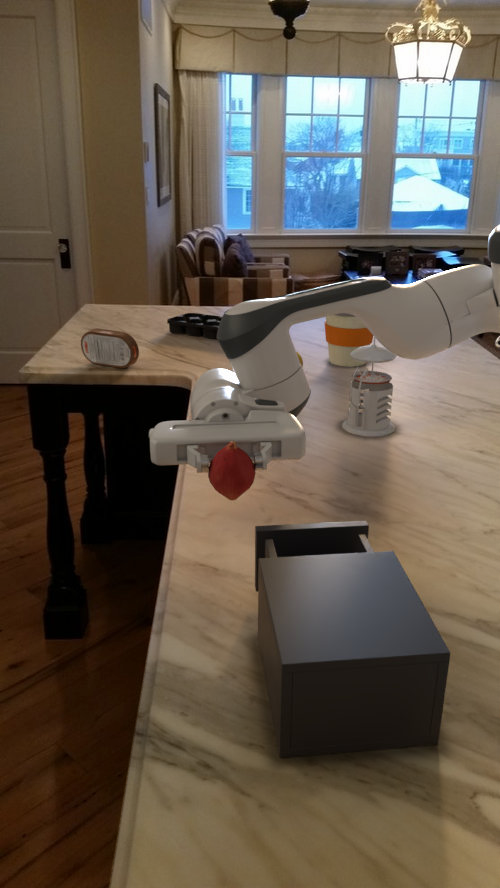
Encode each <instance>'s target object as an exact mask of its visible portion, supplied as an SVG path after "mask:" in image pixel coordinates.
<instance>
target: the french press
mask: <svg viewBox="0 0 500 888" xmlns="http://www.w3.org/2000/svg"><path fill="white" fill-rule="evenodd" d="M350 354H351V357H352V358H353V359H355V360H357V361H361V362H366V364H367V363H368V364H371V370H369V368H365V370H360V366H356V368H355V370H354V372H353V374H351V377H352V378H351V381H350V382H349V390H348V391H349V392H348V393H349V394H348V410H347V418H346V420H344V421H343V422H342V424H341V427H342V429H343V430H344V431H346V432H347V433H349V434H353V435H355V436H361V437H383V436H388V435H390V434H392V433H394V431H395V430H396V427H395V425H394V424H393V423H392V422H391V418H390V417H391V415H392V412H391V411H389V410H392V405H391V404H392V402H393V398H391V397H393V392H394V385H393V383H392V382H391V381H392V379H393V377H392V375H390V374H389V373H387V372H384V371H377V370H374V364H382V363H383V364H384V363H389V362H393V361H394V360H395V359H396V358H397V355H395V354H393V353H391V352H390V351H389V350H387V349H386V348H385V347H384V346H383V345H377V344H376V338H375V337H374V336H373V344H370V345H367V346H363V347H359V348H358V349H356V350H354V351H353V352H352V353H350ZM361 391H363V392H361ZM361 397H363V399H362V398H361ZM360 410H362V411H360Z"/></svg>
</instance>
